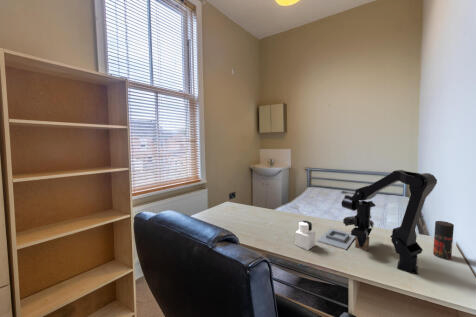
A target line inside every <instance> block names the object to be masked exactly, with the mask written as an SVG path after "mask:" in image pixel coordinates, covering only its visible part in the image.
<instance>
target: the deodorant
mask: <svg viewBox="0 0 476 317" xmlns="http://www.w3.org/2000/svg"><path fill="white" fill-rule="evenodd" d="M454 226H455V225H454V224H453V223H452V222H448V221H445V220H435V223H434V234H433V235H434V237H433V249H432V251H433V252H432V254H433V256H435V257H436V258H439V259H441V260H449V261H450V260H452V253H453V242H454V228H455V227H454Z"/></svg>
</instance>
